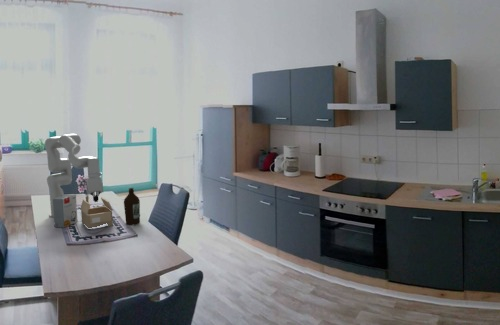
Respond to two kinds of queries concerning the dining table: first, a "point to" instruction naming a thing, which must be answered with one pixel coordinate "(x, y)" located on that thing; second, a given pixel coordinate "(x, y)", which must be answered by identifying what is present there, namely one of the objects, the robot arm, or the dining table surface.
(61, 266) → the dining table surface
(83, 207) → the flap
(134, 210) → the olive oil
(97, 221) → the carton
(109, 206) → the flap
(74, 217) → the hard drive box
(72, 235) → the dining table surface
